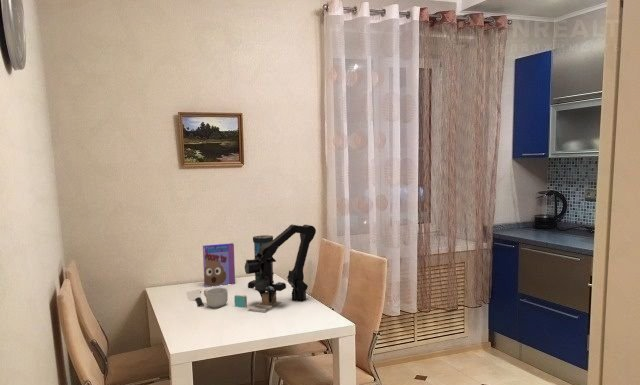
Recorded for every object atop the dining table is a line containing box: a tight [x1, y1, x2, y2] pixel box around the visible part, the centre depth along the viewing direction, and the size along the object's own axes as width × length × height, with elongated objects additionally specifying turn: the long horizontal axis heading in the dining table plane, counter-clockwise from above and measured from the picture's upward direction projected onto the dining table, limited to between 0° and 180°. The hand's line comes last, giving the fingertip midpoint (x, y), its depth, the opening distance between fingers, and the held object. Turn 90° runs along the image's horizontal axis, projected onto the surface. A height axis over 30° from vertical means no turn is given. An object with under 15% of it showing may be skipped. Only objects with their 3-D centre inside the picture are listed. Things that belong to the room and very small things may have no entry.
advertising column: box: [252, 234, 274, 292], centre depth 251 cm, size 11×11×30 cm
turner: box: [250, 291, 277, 312], centre depth 219 cm, size 16×8×6 cm, turn 157°
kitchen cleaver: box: [185, 289, 205, 308], centre depth 237 cm, size 31×2×10 cm
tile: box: [234, 294, 248, 308], centre depth 220 cm, size 6×2×6 cm, turn 68°
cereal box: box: [202, 243, 236, 288], centre depth 264 cm, size 17×5×24 cm, turn 111°
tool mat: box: [246, 300, 283, 314], centre depth 219 cm, size 10×18×1 cm, turn 157°
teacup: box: [203, 287, 229, 309], centre depth 224 cm, size 14×11×8 cm
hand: (267, 302), depth 221 cm, fingers closed on turner, 3 cm apart
